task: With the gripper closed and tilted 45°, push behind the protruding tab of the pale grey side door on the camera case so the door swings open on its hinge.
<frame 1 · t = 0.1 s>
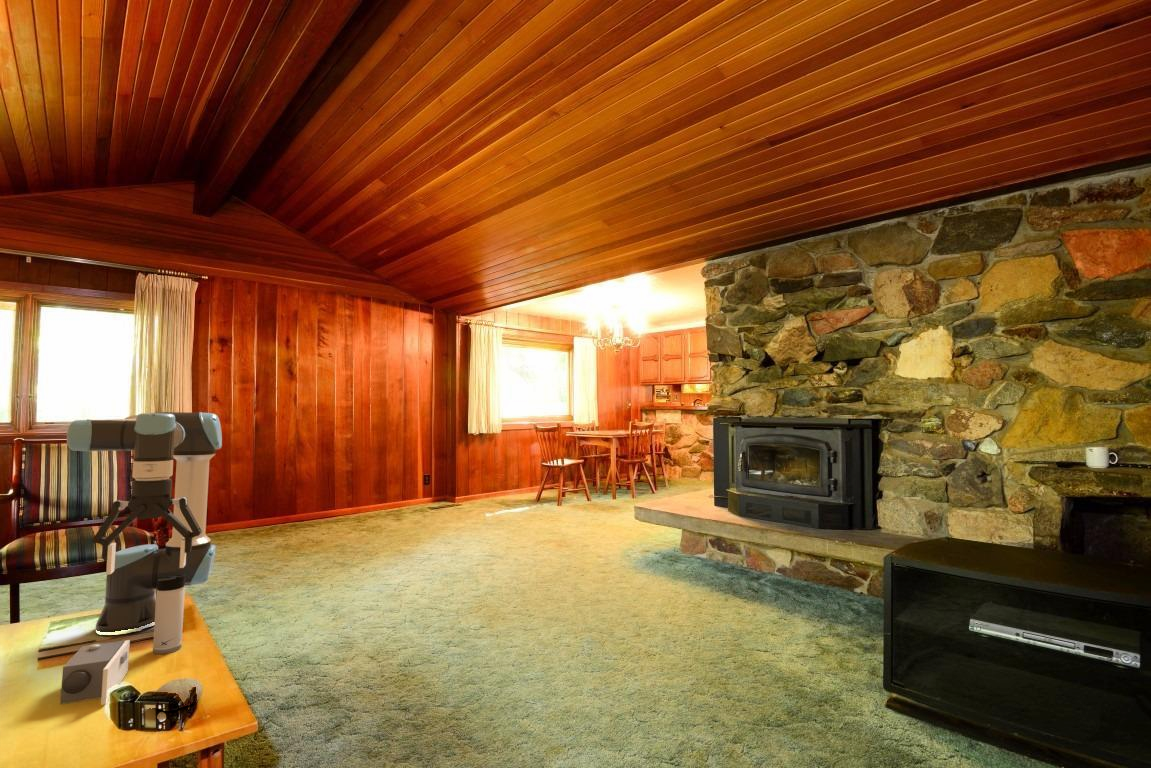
hand: (147, 569, 127), 28 cm above the table, tool pointing down, fingers open, 13 cm apart
sea urchin shell: (177, 704, 121), on the table
travel mug: (167, 650, 148), on the table
side door: (117, 670, 127), point 4 cm above the table, hinge at 0.0°
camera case: (92, 688, 127), on the table
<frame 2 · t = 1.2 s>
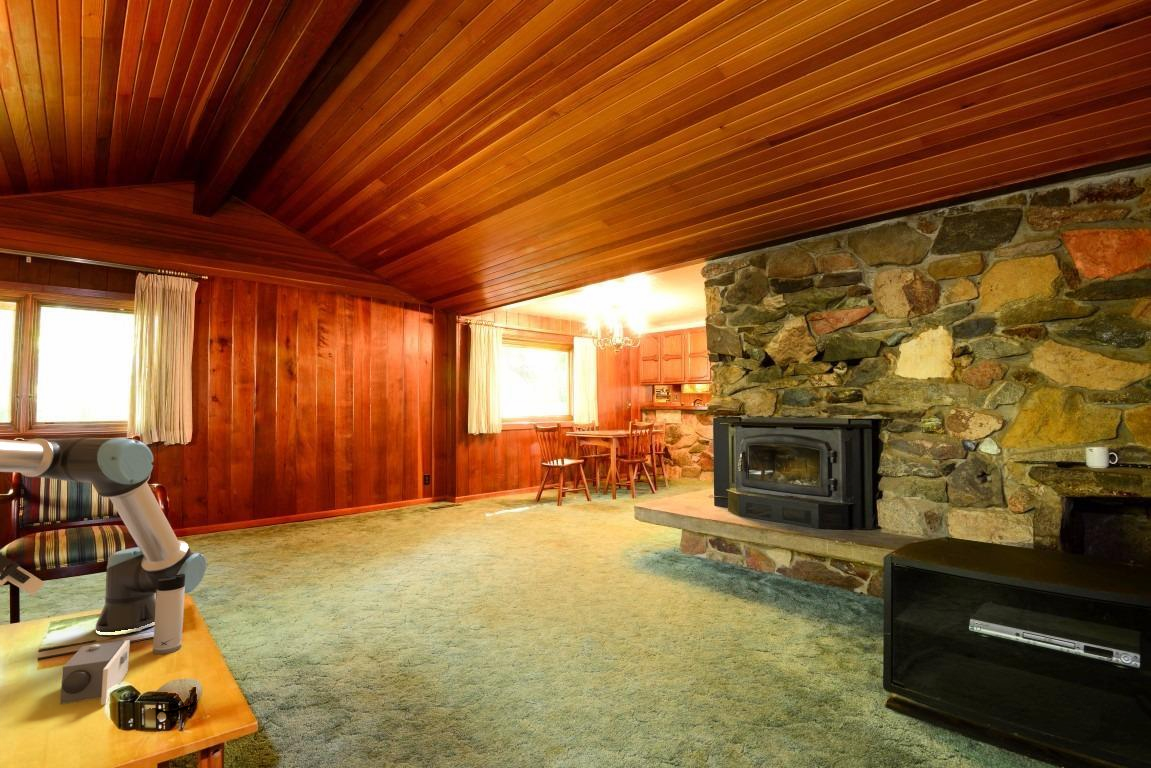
hand: (22, 584, 114), 28 cm above the table, tool tilted 45°, fingers open, 13 cm apart
nothing on the table moved.
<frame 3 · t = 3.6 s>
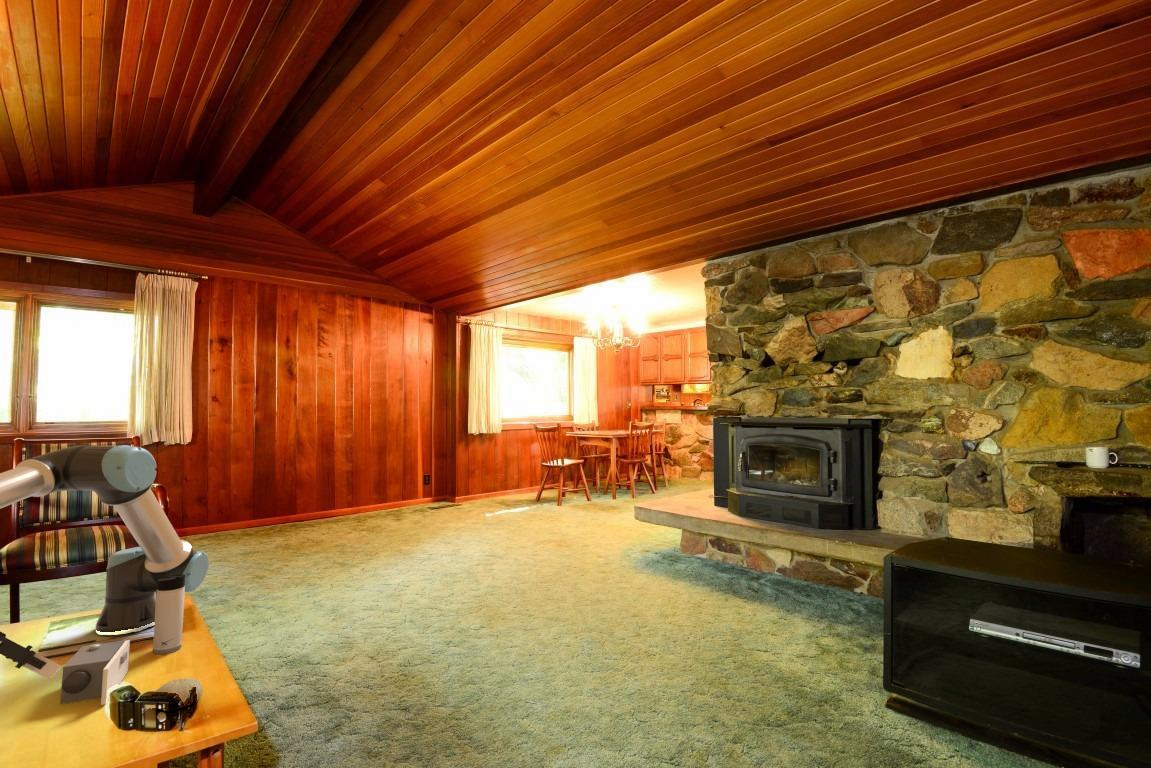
hand: (53, 671, 114), 10 cm above the table, tool tilted 45°, fingers closed
nothing on the table moved.
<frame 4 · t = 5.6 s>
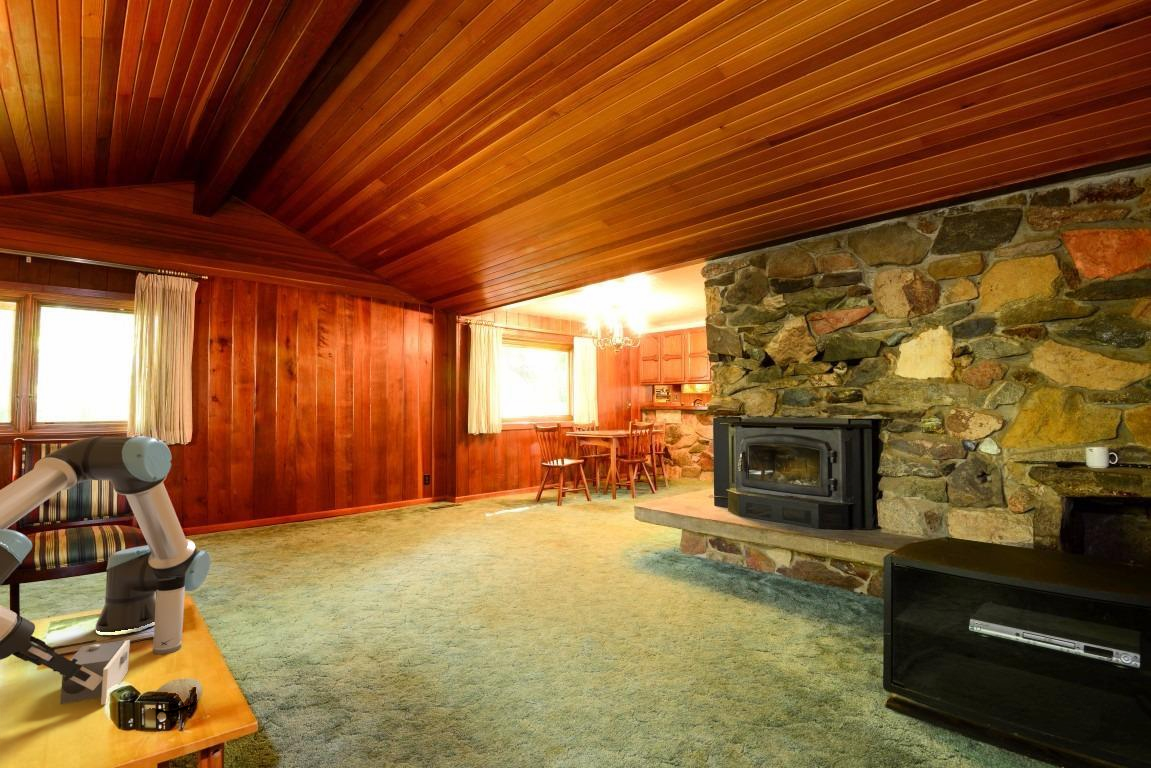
hand: (96, 683, 121), 5 cm above the table, tool tilted 45°, fingers closed
side door: (117, 670, 127), point 4 cm above the table, hinge at 0.0°, touching gripper
everything else where it was.
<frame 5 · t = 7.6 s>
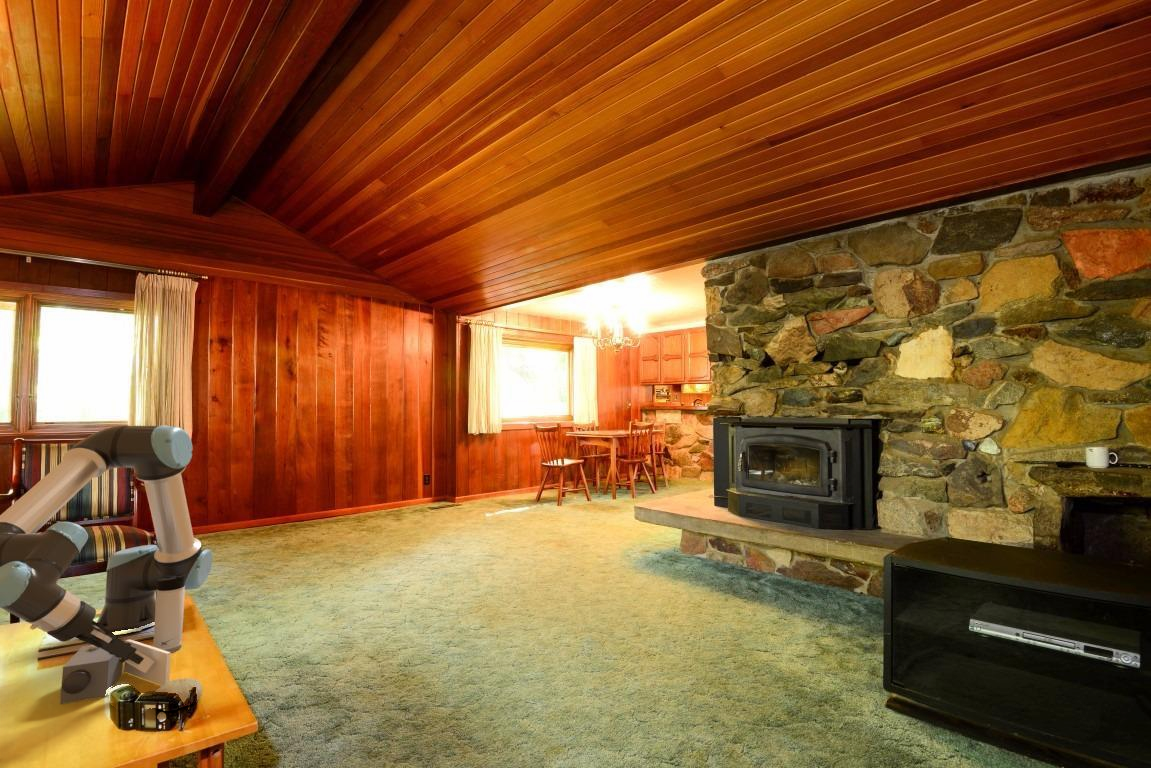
hand: (148, 666, 129), 5 cm above the table, tool tilted 45°, fingers closed
side door: (148, 661, 132), point 4 cm above the table, hinge at 39.4°, touching gripper
everything else where it was.
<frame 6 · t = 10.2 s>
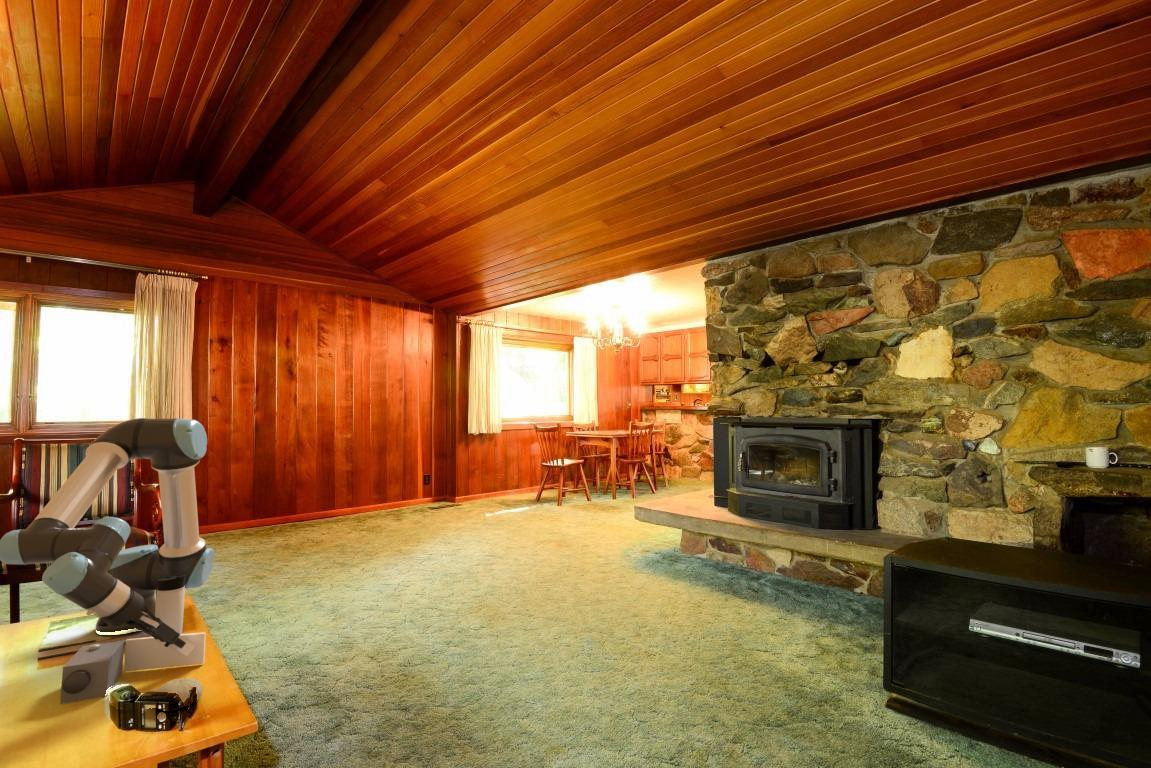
hand: (189, 650, 138), 5 cm above the table, tool tilted 45°, fingers closed
side door: (166, 651, 138), point 4 cm above the table, hinge at 80.7°, touching gripper
everything else where it was.
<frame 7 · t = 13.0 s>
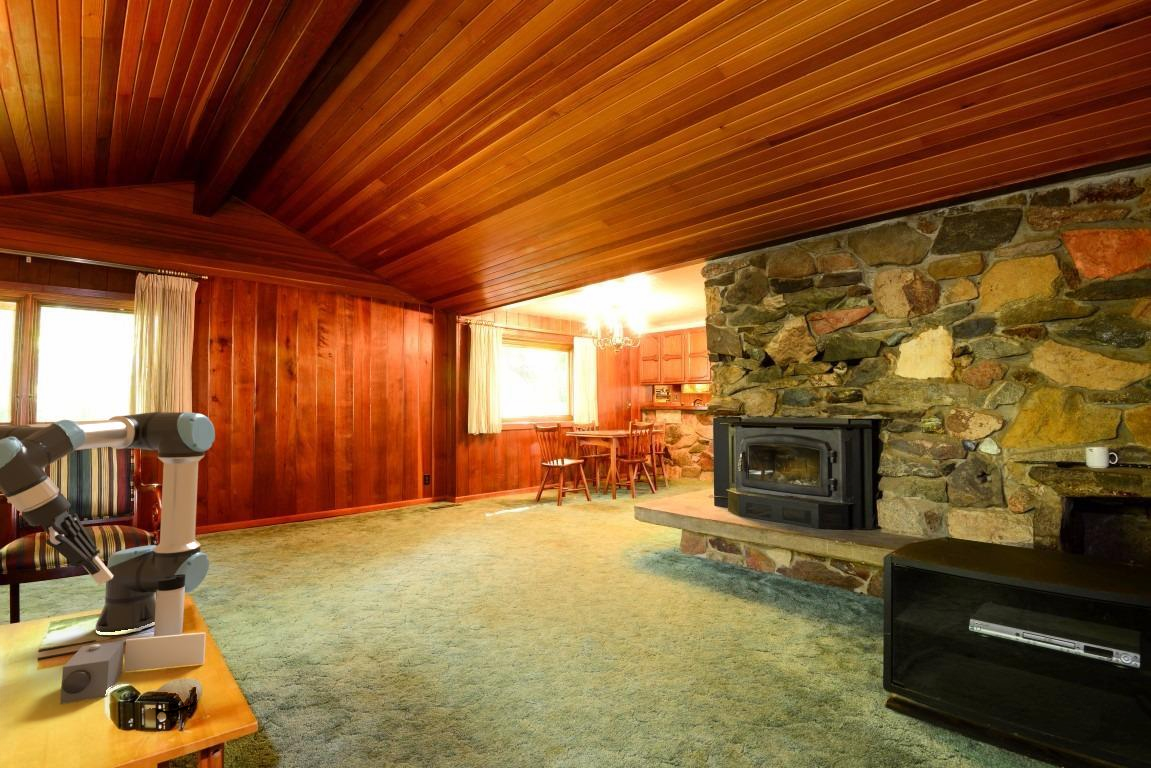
hand: (106, 580, 130), 25 cm above the table, tool tilted 30°, fingers closed
side door: (166, 651, 138), point 4 cm above the table, hinge at 80.7°
everything else where it was.
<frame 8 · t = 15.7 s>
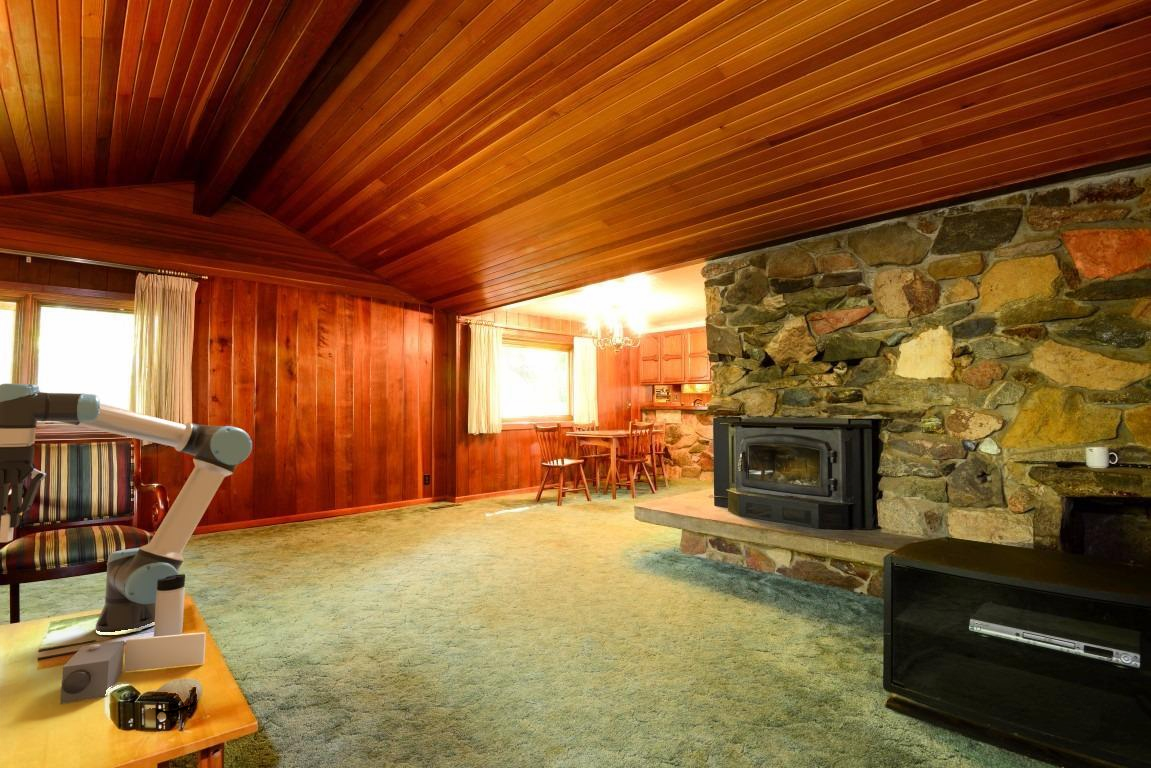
hand: (6, 541, 134), 32 cm above the table, tool pointing down, fingers closed
nothing on the table moved.
at the end: side door at +81° (first picture: +0°) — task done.
